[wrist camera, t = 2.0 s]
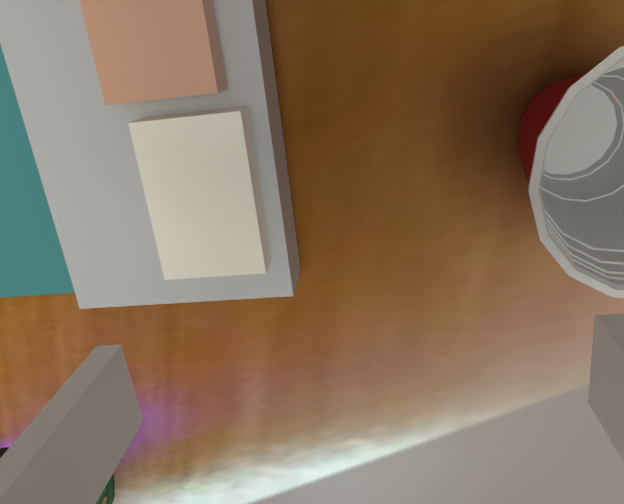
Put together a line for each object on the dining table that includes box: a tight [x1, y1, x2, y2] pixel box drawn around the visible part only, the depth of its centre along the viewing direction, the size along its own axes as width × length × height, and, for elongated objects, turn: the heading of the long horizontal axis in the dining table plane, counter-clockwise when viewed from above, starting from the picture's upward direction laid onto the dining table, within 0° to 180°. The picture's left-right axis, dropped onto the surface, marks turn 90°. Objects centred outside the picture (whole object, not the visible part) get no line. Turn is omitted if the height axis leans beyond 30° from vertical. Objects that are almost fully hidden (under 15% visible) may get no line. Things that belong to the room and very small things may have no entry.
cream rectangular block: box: [128, 106, 272, 280], centre depth 31 cm, size 9×6×2 cm, turn 6°
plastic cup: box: [517, 46, 624, 298], centre depth 27 cm, size 11×11×12 cm
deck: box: [0, 0, 301, 309], centre depth 32 cm, size 22×14×4 cm, turn 6°
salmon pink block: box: [80, 0, 227, 105], centre depth 27 cm, size 9×6×2 cm, turn 6°
